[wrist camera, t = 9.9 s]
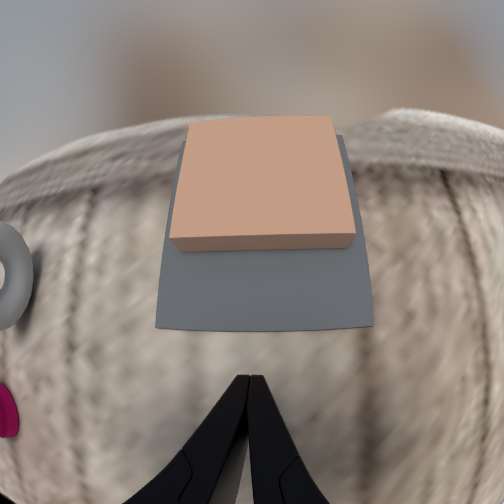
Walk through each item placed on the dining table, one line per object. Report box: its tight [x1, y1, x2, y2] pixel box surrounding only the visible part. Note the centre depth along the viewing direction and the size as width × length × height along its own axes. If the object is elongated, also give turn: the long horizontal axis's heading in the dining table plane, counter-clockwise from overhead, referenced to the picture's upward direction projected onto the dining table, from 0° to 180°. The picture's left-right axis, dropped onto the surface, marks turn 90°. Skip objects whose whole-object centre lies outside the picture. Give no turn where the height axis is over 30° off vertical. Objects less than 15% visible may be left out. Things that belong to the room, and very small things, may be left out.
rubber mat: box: [155, 135, 374, 332], centre depth 21 cm, size 17×15×1 cm
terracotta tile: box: [169, 116, 356, 252], centre depth 20 cm, size 3×12×11 cm
